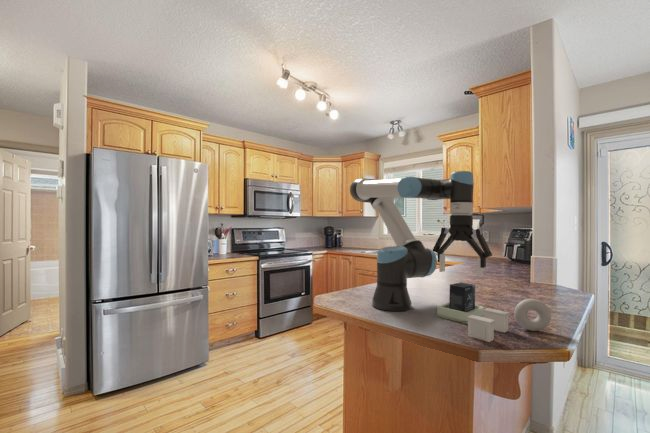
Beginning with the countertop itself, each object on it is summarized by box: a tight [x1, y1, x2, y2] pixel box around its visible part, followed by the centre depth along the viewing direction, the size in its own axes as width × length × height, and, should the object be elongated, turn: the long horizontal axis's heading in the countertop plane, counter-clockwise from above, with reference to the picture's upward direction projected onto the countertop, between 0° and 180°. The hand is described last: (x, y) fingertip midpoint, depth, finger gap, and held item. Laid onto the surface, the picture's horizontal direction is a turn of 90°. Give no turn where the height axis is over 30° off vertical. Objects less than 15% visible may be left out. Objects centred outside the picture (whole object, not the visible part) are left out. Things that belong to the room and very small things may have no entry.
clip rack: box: [467, 307, 510, 343], centre depth 93 cm, size 6×16×6 cm, turn 132°
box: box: [448, 281, 476, 312], centre depth 109 cm, size 8×6×11 cm
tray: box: [436, 302, 486, 325], centre depth 109 cm, size 11×13×4 cm
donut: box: [513, 298, 552, 332], centre depth 96 cm, size 10×4×10 cm, turn 78°
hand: (460, 274), depth 110 cm, fingers open, 13 cm apart
